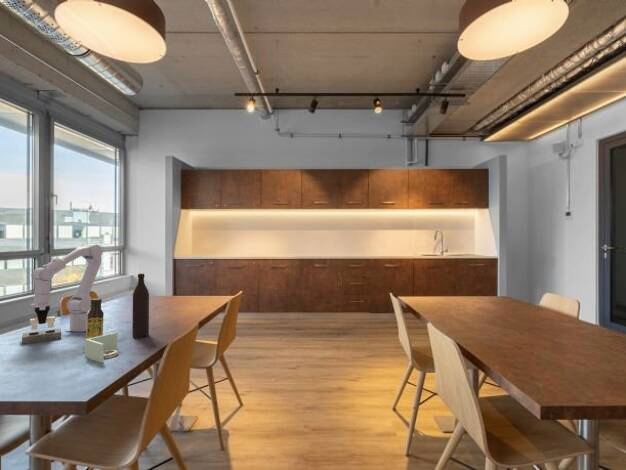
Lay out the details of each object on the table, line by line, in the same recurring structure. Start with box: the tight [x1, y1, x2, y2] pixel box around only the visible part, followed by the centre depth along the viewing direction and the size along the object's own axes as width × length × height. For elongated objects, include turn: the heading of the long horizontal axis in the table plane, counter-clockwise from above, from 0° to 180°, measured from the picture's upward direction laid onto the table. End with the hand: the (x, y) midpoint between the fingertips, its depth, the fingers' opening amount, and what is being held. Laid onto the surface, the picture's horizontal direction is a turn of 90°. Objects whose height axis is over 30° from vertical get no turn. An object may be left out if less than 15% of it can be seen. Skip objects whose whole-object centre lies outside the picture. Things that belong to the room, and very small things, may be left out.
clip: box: [29, 315, 56, 331], centre depth 158 cm, size 9×3×4 cm, turn 129°
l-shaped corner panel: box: [84, 332, 119, 364], centre depth 137 cm, size 12×12×8 cm
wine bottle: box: [131, 273, 150, 339], centre depth 163 cm, size 7×7×30 cm
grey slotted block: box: [21, 327, 62, 345], centre depth 158 cm, size 14×8×3 cm, turn 129°
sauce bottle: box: [85, 297, 105, 339], centre depth 152 cm, size 6×6×20 cm
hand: (42, 323), depth 158 cm, fingers closed on clip, 3 cm apart
